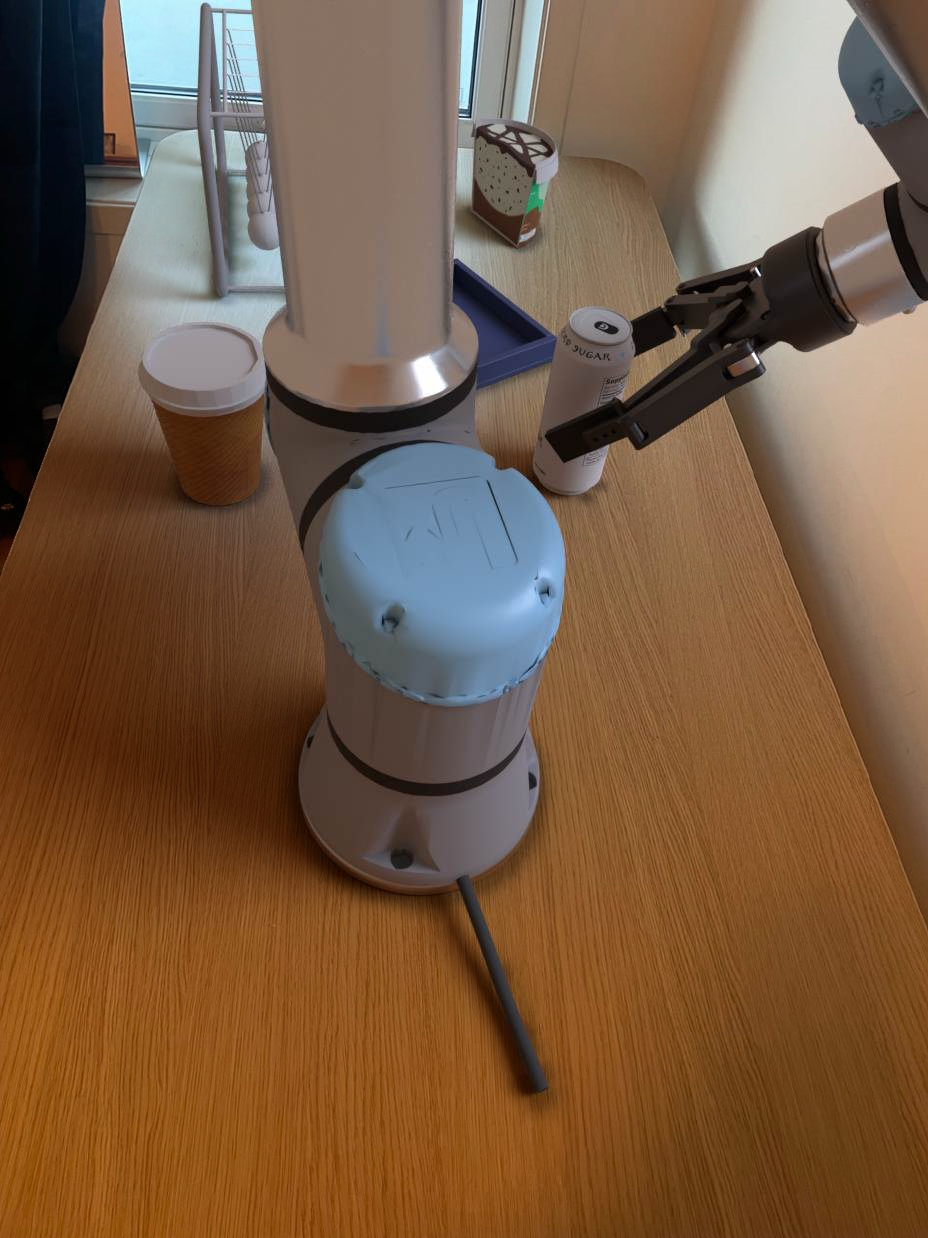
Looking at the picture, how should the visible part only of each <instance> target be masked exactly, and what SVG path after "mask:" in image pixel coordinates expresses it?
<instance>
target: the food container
mask: <svg viewBox="0 0 928 1238" xmlns="http://www.w3.org/2000/svg"><path fill="white" fill-rule="evenodd" d="M471 130H472V131H471V134H470V137H471V138H473V158H472V179H471V180H472V181H471V182H472V183H471V203H470V204H471V205H470V206H471V208H470V212H471V213H472V214H474V215H475V216H476V217H477V218H479V219H480V220H481V221H482V222H483V223H485V224H486V225H488V226H489V227H490V229H493V230H494V231H495V232H496V233H497V234H499V235H500V236H501V237H502V238H504V239H505V240H506V241H507V242H509V243H510V244H511V245H512V246H513V247H514V248H516V249H521V248H524V247H527V246H528V245H529V244H531V243H532V242H533V241H534V239H535V237H536V235H537V232H538V227H539V223H540V219H541V215H542V210H543V208H544V204H545V199H546V195H547V191H548V187H549V183H550V180H551V179H552V178H554V177H555V176H556V174H557V173H558V171H559V152H558V148H557V144H556V141H555V140H554V138H553V137H552V136H551V135H550V134H549V133H548V132H546V131H544V130H542V129H541V128H539V127H537V126H534V125H532V124H529V123H526V122H523V121H519V120H514V119H508V118H500V117H484V118H483V117H482V118H476V119H474V124H473V125H472V129H471Z"/></svg>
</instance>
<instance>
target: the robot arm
mask: <svg viewBox="0 0 928 1238" xmlns="http://www.w3.org/2000/svg"><path fill="white" fill-rule="evenodd" d="M845 1H846V2H847V4H848V6H850V8H851V9H852V11H853V12H854V14H855V15H856V16H855V17H854V19H853V20H852V22H851V24H850V25H849V27H848V29H847V31H846V33H845V35H844V38H843V40H842V43H841V46H840V50H839V54H838V59H837V61H838V62H837V72H838V79H839V82H840V84H841V87H842V89H843V90H844V92H845V94H846V97H847V99H848V101H849V103H850V105H851V107H852V109H853V112H854V115H853V116H854V119H855V121H856V123H857V124H858V125H860V126H861V125H863V126H864V128H865V130H866V131H867V132H868V134H869V136H870V137H871V139H872V140H873V142H874V143H875V144H876V146H877V147H878V149H879V151H880V152H881V153H882V155H883V156H884V158H885V159H886V161H887V162H888V164H889V165H890V167H891V168H892V170H893V171H894V173H895V174H896V176H897V177H898V179H899V181H896V182H895V183H892V184H890V185H888V186H885V187H882V188H880V189H878V190H876V191H875V192H873V193H871V194H869V195H866V196H865V197H863V198H861V199H859V200H857V201H855V202H852V203H851V204H849V205H847V206H845V207H843V208H841V209H840V210H838V211H835V212H834V213H832V214H830V215H828V216H827V217H826V218H825V219H824V221H823V225H822V227H819V226H813V225H812V226H808V227H807V228H805V229H802V230H801V231H798V232H797V233H795V234H793V235H791V236H789V237H787V238H785V239H784V240H781V241H779V242H777V243H775V244H774V245H772V246H770V247H769V248H767V249H766V250H765V252H764V253H763V255H762V256H761V257H759V258H756V259H755V260H753V261H751V262H748V263H744V264H741V265H737V266H734V267H731V268H727V269H723V270H720V271H717V272H713V273H709V274H706V275H702V276H699V277H696V278H691V279H689V280H685V281H683V282H680V283H679V284H678V285H677V286H676V288H675V293H676V294H674V295H672V296H669V297H668V298H667V299H666V300H665V301H664V302H663V307H662V306H661V305H659V306H656V307H655V308H653V309H651V310H649V311H647V312H645V313H643V314H642V315H639V316H637V317H635V318H634V319H632V320H629V321H630V323H631V325H632V329H633V331H632V335H631V336H632V339H633V342H634V345H635V354H634V358H636V357H639V356H640V355H643V354H645V353H647V352H648V351H651V350H653V349H655V348H657V347H659V346H661V345H663V344H665V343H667V342H669V341H671V340H674V339H676V337H677V335H678V332H677V330H676V328H677V329H678V331H679V333H680V334H681V336H682V338H684V337H685V336H686V335H688V334H689V333H690V332H691V331H693V330H701V331H700V332H699V333H697V334H696V335H695V336H694V337H693V338H692V339H691V340H690V345H689V349H688V350H687V351H685V352H684V353H683V354H682V355H680V356H679V357H678V358H677V359H675V360H674V361H673V362H671V364H669V365H668V366H666V368H664V369H663V370H662V371H660V372H659V373H658V374H657V375H655V376H654V377H653V378H652V379H650V381H648V382H647V383H646V384H645V385H643V386H642V387H641V388H639V389H638V390H637V391H636V392H635V393H633V394H632V395H631V396H629V397H628V398H626V400H624V401H623V400H622V401H621V400H620V399H619V398H616V397H614V398H613V399H612V400H611V402H609V403H607V404H605V405H603V406H600V407H598V408H596V409H594V410H592V411H589V412H587V413H585V414H583V415H581V416H578V417H576V418H574V419H572V420H569V421H567V422H565V423H563V424H561V425H558V426H556V427H554V428H552V429H550V430H547V432H546V434H545V435H544V437H545V438H546V440H547V441H548V442H549V444H550V445H551V447H552V448H553V449H554V451H555V452H556V453H557V455H558V456H559V458H560V459H561V460H562V462H563V463H566V462H568V461H571V460H573V459H576V458H578V457H580V456H583V455H585V454H588V453H590V452H592V451H595V450H597V449H600V448H602V447H604V446H607V445H609V444H610V445H611V444H614V443H616V442H619V441H622V440H624V439H628V441H629V442H630V444H631V445H632V447H633V448H634V451H635V450H636V451H641V450H643V449H645V448H646V447H648V446H649V445H651V444H652V443H654V442H656V441H657V440H659V439H660V438H662V437H663V436H664V435H666V434H668V433H669V432H671V431H672V430H674V429H675V428H677V427H678V426H680V425H682V424H683V423H685V422H687V421H688V420H689V419H691V418H692V417H694V416H695V415H697V414H699V413H700V412H701V411H703V410H704V409H706V408H708V407H709V406H711V405H713V404H714V403H715V402H717V401H718V400H720V399H722V398H723V397H725V396H726V395H728V394H729V393H731V392H732V391H734V390H736V389H738V388H740V387H742V386H744V385H746V384H749V383H750V382H753V381H755V380H756V379H759V378H760V377H762V376H763V375H764V374H765V373H766V371H767V368H766V366H765V365H764V363H763V361H762V359H761V358H760V356H761V355H762V354H763V353H764V352H765V351H766V350H768V349H770V348H771V347H773V346H775V345H777V343H779V342H780V343H781V342H782V343H786V344H788V345H790V346H791V347H792V348H793V349H794V350H795V351H798V352H801V353H810V352H813V351H815V350H818V349H821V348H822V347H824V346H828V345H830V344H831V343H835V342H836V341H839V340H841V339H844V338H846V337H849V336H850V335H852V334H853V333H854V331H855V330H856V328H857V326H858V324H859V325H861V326H863V327H870V326H872V325H874V324H877V323H879V322H882V321H884V320H886V319H889V318H892V317H894V316H896V315H899V314H901V313H902V314H903V315H910V314H913V313H914V312H915V311H916V310H917V308H918V306H919V305H922V304H924V303H926V302H928V0H845ZM249 2H250V10H252V14H251V17H252V26H253V30H254V31H253V35H254V42H255V43H254V44H256V45H255V51H256V59H257V61H256V62H257V68H258V75H259V77H258V78H259V85H260V92H261V93H260V94H261V103H262V111H263V113H264V118H263V119H264V129H265V128H266V136H265V138H266V140H267V145H268V154H269V162H270V171H271V179H272V188H273V196H274V205H275V213H276V221H277V230H278V238H279V247H278V248H279V254H280V255H279V256H280V262H281V263H280V264H281V272H282V279H283V281H282V282H283V286H284V289H285V290H284V296H285V304H284V305H283V306H282V307H281V308H279V309H278V311H276V312H275V313H274V315H273V316H272V317H271V318H270V320H269V321H268V323H267V325H266V327H265V329H264V331H263V335H262V342H261V346H262V348H263V356H264V362H265V369H266V380H265V391H264V395H265V402H264V417H263V421H264V424H265V430H266V433H267V438H268V441H269V444H270V446H271V449H272V452H273V454H274V457H275V458H276V461H277V465H278V468H279V472H280V475H281V480H282V483H283V486H284V489H285V493H286V498H287V501H288V506H289V509H290V512H291V515H292V516H291V517H292V521H293V524H294V527H295V530H296V534H297V538H298V541H299V547H300V551H301V553H302V557H303V561H304V565H305V569H306V573H307V578H308V581H309V585H310V590H311V593H312V597H313V600H314V604H315V608H316V612H317V616H318V619H319V620H318V621H319V625H320V630H321V637H322V643H323V652H324V674H325V675H324V676H325V702H324V704H323V706H322V708H321V709H320V712H319V714H318V715H317V716H316V718H315V720H314V721H313V723H312V724H311V727H310V729H309V731H308V732H307V735H306V738H305V740H304V742H303V746H302V750H301V755H300V760H299V766H298V793H299V802H300V808H301V811H302V815H303V819H304V822H305V824H306V827H307V828H308V831H309V833H310V835H311V836H312V838H313V839H314V841H315V843H316V844H317V845H318V847H319V848H320V849H321V850H322V852H323V853H324V854H325V855H326V856H327V857H328V858H329V859H330V860H331V861H332V863H334V864H335V865H336V866H337V867H338V868H340V869H341V870H343V871H344V872H345V873H347V874H348V875H350V876H351V877H353V878H355V879H356V880H358V881H360V882H363V883H364V884H368V885H369V886H371V887H375V888H377V889H381V890H383V891H386V892H392V893H395V894H403V895H411V896H412V895H413V896H427V895H439V894H445V893H450V892H454V891H458V890H459V892H460V895H461V898H462V901H463V903H464V906H465V909H466V912H467V915H468V917H469V920H470V923H471V926H472V929H473V931H474V934H475V937H476V940H477V942H478V946H479V948H480V951H481V953H482V957H483V960H484V962H485V965H486V968H487V970H488V971H487V972H488V974H489V977H490V980H491V983H492V986H493V988H494V990H495V994H496V996H497V999H498V1001H499V1005H500V1007H501V1009H502V1012H503V1015H504V1017H505V1020H506V1023H507V1026H508V1028H509V1030H510V1033H511V1036H512V1039H513V1041H514V1044H515V1046H516V1049H517V1052H518V1053H519V1056H520V1059H521V1061H522V1064H523V1067H524V1069H525V1071H526V1074H527V1077H528V1079H529V1082H530V1085H531V1088H532V1090H533V1092H534V1093H535V1095H537V1094H540V1093H543V1092H545V1091H547V1090H548V1089H550V1086H549V1084H548V1081H547V1078H546V1076H545V1073H544V1071H543V1069H542V1067H541V1064H540V1061H539V1059H538V1057H537V1054H536V1051H535V1049H534V1046H533V1044H532V1041H531V1040H530V1037H529V1034H528V1032H527V1029H526V1027H525V1024H524V1022H523V1019H522V1016H521V1014H520V1010H519V1009H518V1006H517V1003H516V1000H515V998H514V995H513V993H512V990H511V987H510V985H509V982H508V979H507V976H506V974H505V970H504V968H503V966H502V962H501V959H500V957H499V954H498V951H497V949H496V946H495V942H494V940H493V938H492V937H493V936H492V934H491V932H490V929H489V927H488V923H487V921H486V918H485V916H484V913H483V910H482V908H481V904H480V902H479V900H478V896H477V894H476V891H475V888H474V886H473V885H474V884H477V883H478V882H480V881H483V880H484V879H486V878H487V877H489V876H491V875H492V874H494V873H495V872H496V871H497V870H499V869H500V868H501V867H502V866H503V865H505V864H506V863H507V862H508V861H509V860H510V859H511V858H512V857H513V856H514V854H515V853H516V852H517V850H518V849H519V848H520V847H521V845H522V844H523V842H524V840H525V839H526V837H527V834H528V833H529V830H530V828H531V825H532V823H533V819H534V817H535V813H536V810H537V805H538V802H539V795H540V778H541V777H540V764H539V758H538V757H539V756H538V753H537V749H536V745H535V743H534V742H535V741H534V740H533V735H532V732H531V729H530V725H529V723H530V719H531V715H532V713H533V712H532V711H533V708H534V705H535V701H536V698H537V694H538V690H539V686H540V683H541V679H542V676H543V672H544V668H545V666H546V665H545V664H546V661H547V657H548V654H549V651H550V647H551V646H552V645H551V644H552V643H553V642H554V639H555V637H556V635H557V633H558V630H559V626H560V623H561V616H562V612H563V601H564V597H565V585H564V584H565V577H566V550H565V549H566V548H565V543H564V538H563V534H562V531H561V528H560V525H559V522H558V520H557V517H556V515H555V513H554V511H553V510H552V508H551V506H550V504H549V503H548V501H547V500H546V498H545V497H544V495H543V494H542V493H541V492H540V491H539V489H537V488H536V486H535V485H534V484H533V483H532V482H531V481H530V480H529V479H528V478H527V477H526V476H525V475H523V474H522V473H521V472H520V471H518V470H516V469H515V468H513V467H508V468H506V469H505V468H504V469H502V470H501V469H499V468H497V467H496V459H495V457H494V456H492V455H490V454H488V453H487V452H485V451H484V449H483V446H482V444H481V443H480V440H479V437H478V436H479V435H478V432H477V428H476V427H477V425H476V400H477V390H476V384H477V366H478V336H477V332H476V329H475V327H474V325H473V323H472V322H471V320H470V319H469V318H468V316H467V315H466V314H465V313H464V312H463V311H462V310H461V309H460V308H459V307H458V306H457V305H455V304H454V303H453V302H452V294H453V266H454V259H455V238H456V237H455V236H456V235H455V234H456V211H457V210H456V207H457V204H456V203H457V184H458V183H457V179H458V151H459V125H460V123H459V122H460V119H459V118H460V99H461V98H460V94H461V72H462V71H461V68H462V44H463V43H462V41H463V40H462V39H463V17H464V15H463V14H464V13H463V12H464V10H463V9H464V0H250V1H249ZM675 326H676V328H675ZM610 445H609V446H610Z"/></svg>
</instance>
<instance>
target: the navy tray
mask: <svg viewBox="0 0 928 1238" xmlns="http://www.w3.org/2000/svg"><path fill="white" fill-rule="evenodd" d="M452 302H453V303H454V304H455V305H457V306H458V307H459V308H460V309H461V310H462V311H463V312H464V313H465V314H466V315H467V316H468V318H469V319H470V320H471V322H472V323H473V325H474V327H475V329H476V332H477V336H478V366H477V384H476V391H477V390H480V389H482V388H484V387H487V386H490V385H492V384H495V383H499V382H500V381H503V380H506V379H509V378H512V377H514V376H517V375H519V374H522V373H524V372H528V371H531V370H533V369H535V368H538V367H541V366H543V365H546V364H548V363H552V361H553V356H554V351H555V346H556V341H557V336H556V335H555V334H553V333H552V332H551V331H549V330H548V329H547V328H546V327H544V326H543V324H541V323H539V322H538V321H537V320H536V319H534V318H533V317H532V316H530V314H528V313H527V312H525V311H524V310H523V309H522V308H520V307H519V306H518V305H517V304H516V303H515V302H513V301H511V299H509V298H508V297H507V296H505V295H504V294H503V293H502V292H500V291H499V290H498V289H496V288H495V287H494V286H493V285H492V284H490V283H489V282H488V281H487V280H485V279H484V278H483V277H481V276H480V275H479V274H478V273H476V272H475V271H474V270H473V269H472V268H470V267H469V266H468V265H466V264H465V263H464V262H462V260H461V259H459V258H457V257H456V258H454V266H453V294H452Z"/></svg>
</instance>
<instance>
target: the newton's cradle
mask: <svg viewBox="0 0 928 1238" xmlns="http://www.w3.org/2000/svg"><path fill="white" fill-rule="evenodd" d="M214 13H215V14H217V13H218V14H221V15H222V16H221V17H222V18H221V21H222V25H221V32H222V33H221V34H222V35H221V36H222V37H221V38H222V40H221V41H222V44H221V45H222V47H221V48H222V99H221V87H220V78H219V68H218V67H219V66H218V57H217V55H218V54H217V48H216V46H217V45H216V35H215V24H214V15H213V14H214ZM227 14H233V15H252V10H251V9H240V8H237V9H236V8H219V7H212V6H211V4H210V3H208V2H202V4H201V5H200V9H199V33H198V34H199V37H198V64H197V65H198V67H197V71H198V72H197V93H196V94H197V95H196V127H197V129H196V130H197V138H198V148H199V156H200V164H201V172H202V173H201V174H202V181H203V182H202V184H203V191H204V199H205V207H206V214H207V215H206V217H207V223H208V224H207V225H208V233H209V240H210V249H211V258H212V259H211V260H212V266H213V276H214V284H215V290H216V294H217V295H218V296H219V297H221V298H225V297H226V296H228V294H229V291H285V289H284V285H229V219H228V218H229V213H228V209H229V208H228V207H229V205H228V203H229V202H228V174H245V176H244V177H245V180H246V183H247V184H246V187H245V194H246V198H247V203H246V204H247V205H246V213H247V217H248V219H249V221H248V223H247V235H248V238H249V240H250V241H251V244H253V246H255V247H256V248H258V249H260V250H262V251H273V250H275V249H278V248H280V247H279V238H278V230H277V221H276V213H275V205H274V196H273V188H272V179H271V171H270V162H269V154H268V145H267V139H266V128H265V127H264V132H263V140H261V139H258V135H257V132H256V128H255V124H254V120H253V119H264V112H251V109H250V105H249V101H248V97H247V94H261V91H246V90H245V86H244V82H243V79H242V77H256V78H257V77H258V78H260V77H259V74H257V75H256V74H241V70H240V66H239V62H238V61H256V62H258V61H257V58H256V59H255V58H237V55H236V50H235V47H234V45H237V46H256V44H255V43H235V42H233V39H232V35H231V31H244V32H245V31H247V32H254V29H244V28H243V29H242V28H227ZM227 32H228V33H227ZM227 34H228V38H229V40H230V41H229V42H228V41H227V40H228V39H227ZM227 46H228V47H227ZM227 48H228V49H227ZM231 48H232V49H231ZM228 51H229V54H230V57H228V54H227V53H228ZM231 62H232V63H231ZM228 64H229V69H230V72H231V73H230V74H229V73H228ZM232 65H233V67H232ZM233 69H234V70H233ZM232 79H233V81H232ZM228 80H229V83H230V87H231V90H228ZM236 80H237V81H236ZM233 82H234V83H233ZM233 84H234V85H233ZM234 87H235V89H234ZM238 88H239V90H238ZM228 95H229V99H230V103H231V106H232V110H233V112H232V111H228ZM232 95H233V98H234V101H233V98H232ZM237 98H238V100H237ZM238 102H239V104H238ZM245 102H246V103H245ZM234 103H235V104H236V105H234ZM242 104H243V105H242ZM235 106H236V108H235ZM239 106H240V107H239ZM236 110H237V112H236ZM240 110H241V111H240ZM244 111H245V112H244ZM211 118H212V127H213V136H214V145H215V154H216V167H215V158H214V157H215V156H214V148H213V141H212V140H213V138H212V128H211ZM223 118H235V122H236V125H237V130H238V133H239V138H240V141H241V144H242V147H243V152H244V162H245V166H246V168H245V169H228V160H227V151H226V148H227V147H226V140H225V129H224V127H225V126H224V119H223ZM239 121H240V123H239ZM243 121H244V123H243ZM250 121H251V122H250ZM247 123H248V124H247ZM240 125H241V128H242V131H241V128H240ZM244 125H245V127H244ZM245 129H246V131H245ZM252 129H253V130H252ZM249 130H250V131H249ZM242 132H243V135H242ZM246 132H247V133H246ZM253 133H254V134H253ZM243 136H244V137H243ZM247 136H248V137H247ZM243 138H244V139H245V141H244V139H243ZM251 138H252V139H251ZM248 140H249V142H248ZM245 143H246V145H245ZM246 147H247V149H246ZM216 174H217V175H216Z"/></svg>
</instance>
